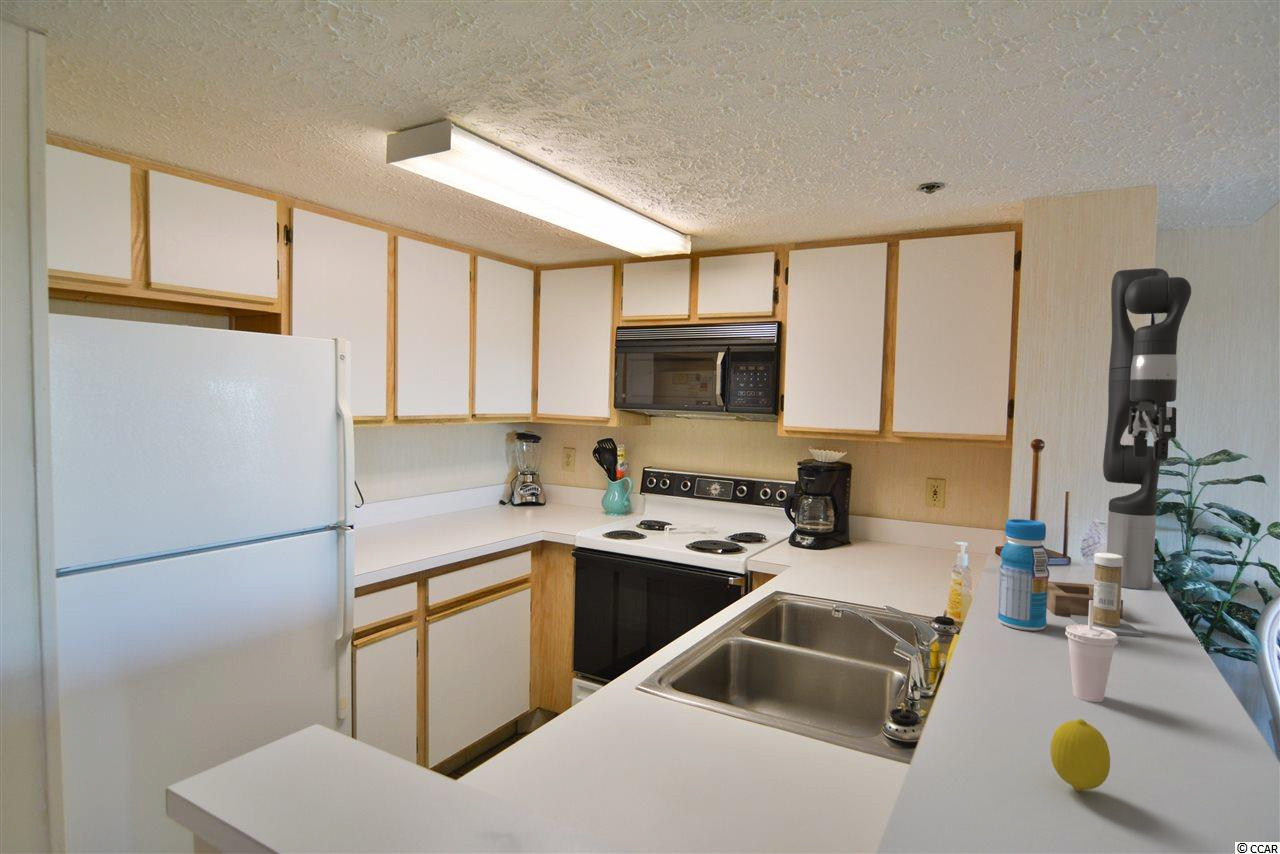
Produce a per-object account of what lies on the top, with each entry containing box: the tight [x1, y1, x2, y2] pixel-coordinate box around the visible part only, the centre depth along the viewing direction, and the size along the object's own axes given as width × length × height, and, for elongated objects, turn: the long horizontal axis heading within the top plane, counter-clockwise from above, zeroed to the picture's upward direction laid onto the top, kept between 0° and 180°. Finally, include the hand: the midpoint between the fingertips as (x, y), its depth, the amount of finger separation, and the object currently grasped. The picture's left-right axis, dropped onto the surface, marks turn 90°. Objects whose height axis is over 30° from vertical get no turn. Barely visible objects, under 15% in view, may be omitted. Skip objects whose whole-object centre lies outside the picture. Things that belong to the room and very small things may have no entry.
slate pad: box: [1070, 615, 1145, 638], centre depth 132 cm, size 9×9×1 cm
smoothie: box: [1064, 600, 1119, 703], centre depth 100 cm, size 6×6×14 cm
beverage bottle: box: [997, 518, 1050, 632], centre depth 133 cm, size 8×8×20 cm
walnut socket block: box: [1046, 580, 1124, 619], centre depth 144 cm, size 12×12×4 cm
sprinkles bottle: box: [1093, 552, 1123, 627], centre depth 132 cm, size 5×5×13 cm
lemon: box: [1050, 718, 1111, 793], centre depth 76 cm, size 6×6×8 cm
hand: (1149, 458), depth 140 cm, fingers open, 8 cm apart
